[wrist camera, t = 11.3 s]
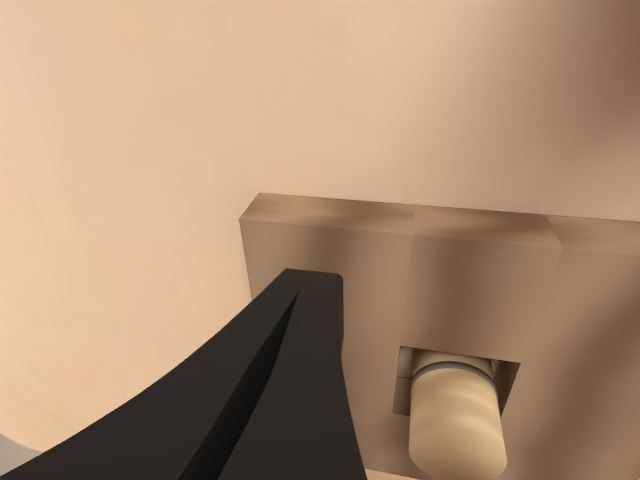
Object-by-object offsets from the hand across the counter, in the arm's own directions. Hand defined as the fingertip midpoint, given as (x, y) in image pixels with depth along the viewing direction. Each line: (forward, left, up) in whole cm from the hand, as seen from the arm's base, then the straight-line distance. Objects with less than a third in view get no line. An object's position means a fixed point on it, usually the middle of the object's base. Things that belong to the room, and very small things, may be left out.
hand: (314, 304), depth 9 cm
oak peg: (-5, +11, -9) cm, 15 cm away
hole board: (-5, +11, -10) cm, 15 cm away
